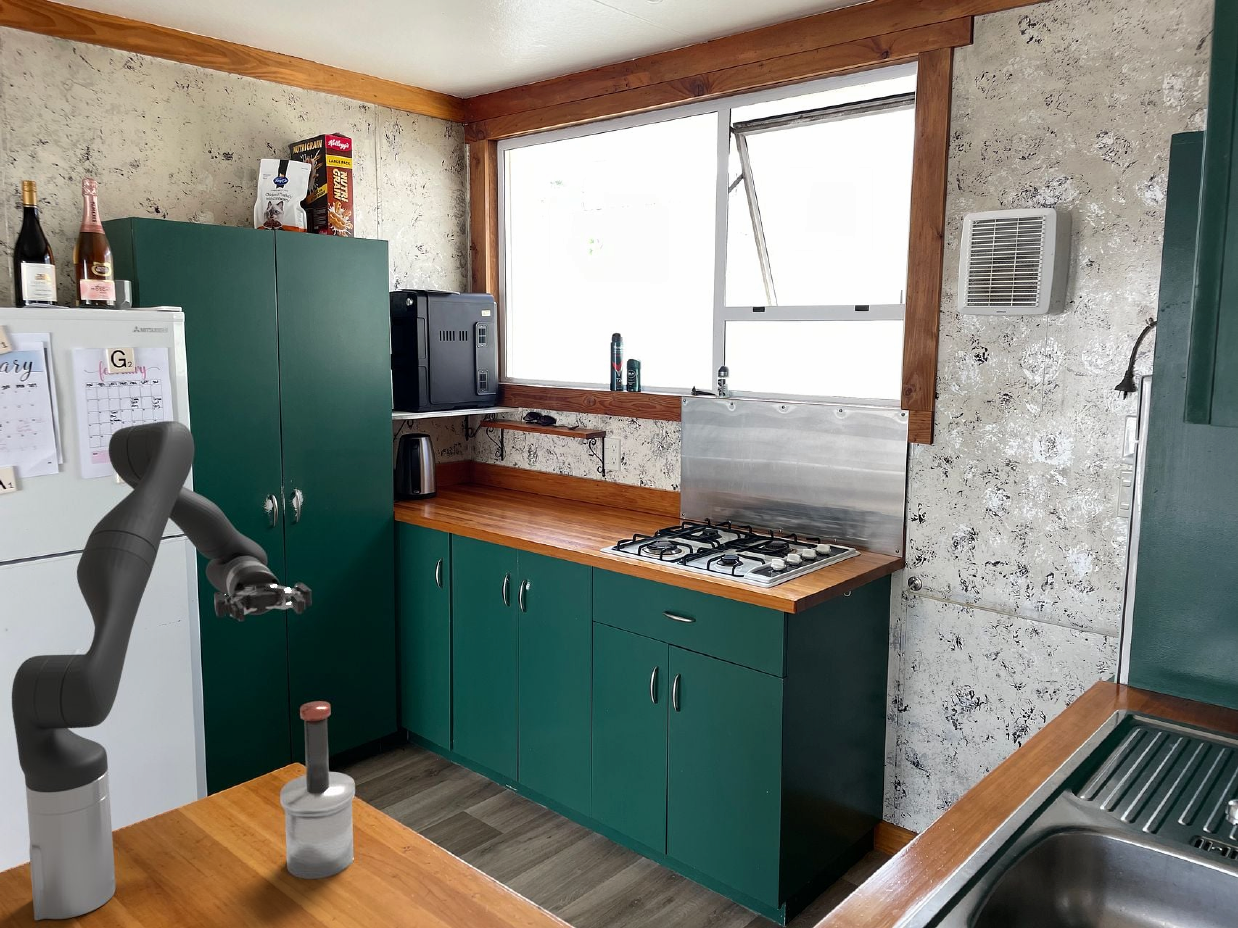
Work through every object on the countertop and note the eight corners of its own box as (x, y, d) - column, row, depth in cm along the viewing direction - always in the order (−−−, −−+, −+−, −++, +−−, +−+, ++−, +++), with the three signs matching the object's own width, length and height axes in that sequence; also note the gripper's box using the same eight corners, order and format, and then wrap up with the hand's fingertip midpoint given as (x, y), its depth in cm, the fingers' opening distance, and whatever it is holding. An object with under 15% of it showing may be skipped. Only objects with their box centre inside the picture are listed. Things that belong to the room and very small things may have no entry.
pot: (293, 886, 126) (291, 819, 125) (279, 853, 134) (276, 790, 133) (362, 867, 131) (361, 802, 130) (345, 836, 139) (343, 775, 138)
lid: (289, 821, 124) (285, 727, 123) (274, 789, 133) (270, 701, 131) (363, 802, 129) (361, 712, 128) (344, 773, 138) (342, 688, 136)
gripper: (206, 569, 153) (220, 593, 139) (295, 560, 160) (318, 581, 146) (208, 613, 154) (222, 641, 140) (297, 602, 161) (319, 627, 147)
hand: (271, 610), depth 143 cm, fingers open, 8 cm apart
